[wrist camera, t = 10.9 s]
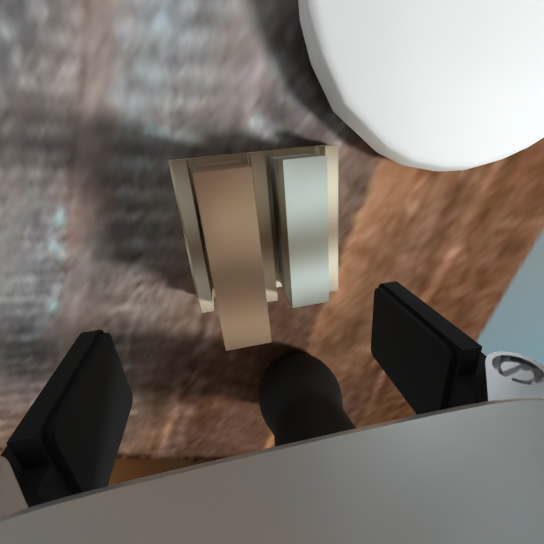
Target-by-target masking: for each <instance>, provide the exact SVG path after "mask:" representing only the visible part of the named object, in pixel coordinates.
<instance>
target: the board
mask: <svg viewBox="0 0 544 544" xmlns="http://www.w3.org/2000/svg"><path fill="white" fill-rule="evenodd" d="M192 174H193V179H194V184H195V190H196V195H197V200H198V206H199V211H200V216H201V222H202V227H203V232H204V237H205V243H206V248H207V253H208V259H209V264H210V269H211V275H212V280H213V285H214V290H215V296H216V301H217V306H218V312H219V317H220V322H221V328H222V333H223V338H224V343H225V349H226V351H228V350H234V349H239V348H244V347H249V346H255V345H260V344H265V343H270V342H271V334H270V325H269V316H268V307H267V299H266V290H265V281H264V272H263V263H262V254H261V246H260V237H259V228H258V219H257V210H256V202H255V193H254V184H253V175H252V167H251V166H249V165H248V164H246V163H244V162H242V161H240V160H238V159H237V160H228V161H219V162H210V163H200V164H198V166H197V167H196V169H195V170H194V172H193V173H192Z"/></svg>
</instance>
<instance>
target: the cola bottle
mask: <svg viewBox="0 0 544 544" xmlns="http://www.w3.org/2000/svg"><path fill="white" fill-rule="evenodd" d="M259 401H260V409H261V413H262V416H263V418H264V420H265V422H266V424H267V425H268V427H269V428H270V430H271V431H272V433H273V434H274V436H275V447H276V446H280V445H285V444H289V443H294V442H298V441H302V440H307V439H311V438H316V437H320V436H324V435H329V434H333V433H338V432H342V431H347V430H351V429H356V427H355V426H354V424H353V423H352V422H351V420H350V419H349V417H348V416H347V415H346V413H345V412H344V410H343V404H342V395H341V390H340V386H339V384H338V381H337V379H336V377H335V376H334V374H333V373H332V372H331V370H330V369H329V368H328V367H327V366H326V365H325V364H324V363H323V362H322V361H320V360H319V359H317V358H315V357H313V356H311V355H307V354H291V355H287V356H285V357H282V358H280V359H278V360H277V361H275V362H274V363H273V364H272V365H271V366H270V367H269V368H268V369H267V371H266V372H265V374H264V376H263V378H262V382H261V386H260V394H259Z"/></svg>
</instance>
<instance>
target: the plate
mask: <svg viewBox="0 0 544 544" xmlns="http://www.w3.org/2000/svg"><path fill="white" fill-rule="evenodd" d="M298 5H299V17H300V24H301V28H302V32H303V36H304V40H305V43H306V47H307V51H308V55H309V59H310V63H311V65H312V68H313V70H314V72H315V74H316V76H317V78H318V80H319V83H320V85H321V87H322V89H323V91H324V93H325V95H326V98H327V100H328V102H329V104H330V106H331V108H332V110H333V112H334V113H335V114H336V115H337V116H338V117H340V118H341V119H342V120H343V121H344V122H345V123H346V124H347V125H348V126H349V127H350V128H351V129H352V130H353V131H354V132H355V133H356V134H358V135H359V136H360V137H361V138H362V139H363V140H364V141H365V142H366V143H367V144H368V145H369V146H370V147H371V148H372V149H373V150H374V151H376V152H377V153H379V154H381V155H383V156H385V157H387V158H389V159H391V160H392V161H394V162H396V163H398V164H400V165H404V166H409V167H415V168H420V169H426V170H431V171H455V170H466V169H469V168H473V167H477V166H480V165H484V164H487V163H491V162H494V161H498V160H501V159H503V158H506V157H508V156H510V155H512V154H514V153H517V152H519V151H521V150H523V149H525V148H527V147H529V146H531V145H532V144H534V143H535V142H537V141H539V140H540V139H542V138H543V137H544V0H298Z"/></svg>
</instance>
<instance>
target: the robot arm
mask: <svg viewBox="0 0 544 544" xmlns="http://www.w3.org/2000/svg"><path fill="white" fill-rule="evenodd" d="M481 349H482V346H481V345H479V344H478V343H477V342H475V341H474V340H473V339H471V338H470V337H469V336H468V335H466V334H465V333H464V332H462V331H461V330H460V329H458V328H457V327H456V326H454V325H453V324H452V323H450V322H449V321H448V320H447V319H445V318H444V317H443V316H441V315H440V314H439V313H437V312H436V311H435V310H433V309H432V308H431V307H430V306H428V305H427V304H426V303H424V302H423V301H422V300H420V299H419V298H418V297H416V296H415V295H414V294H412V293H411V292H410V291H409V290H407V289H406V288H405V287H403V286H402V285H401V284H399V283H398V282H396V281H395V282H388V283H382V284H380V285H379V287H378V288H376V289H375V292H374V307H373V323H372V338H371V351H372V354H373V356H374V358H375V359H376V361H377V362H378V363H379V365H380V366H381V367H382V369H383V370H384V371H385V373H386V374H387V375H388V377H389V378H390V379H391V381H392V382H393V383H394V385H395V386H396V387H397V389H398V390H399V391H400V393H401V394H402V395H403V397H404V398H405V399H406V401H407V402H408V403H409V405H410V406H411V407H412V409H413V410H414V411H415V413H416V414H417V415H414V416H410V417H405V418H401V419H396V420H392V421H387V422H383V423H378V424H374V425H369V426H365V427H360V428H356V429H351V430H347V431H342V432H338V433H333V434H329V435H324V436H320V437H316V438H311V439H307V440H302V441H298V442H294V443H289V444H285V445H280V446H276V447H272V448H267V449H263V450H259V451H254V452H250V453H245V454H241V455H237V456H232V457H228V458H224V459H219V460H215V461H211V462H207V463H202V464H198V465H194V466H190V467H186V468H181V469H177V470H173V471H168V472H164V473H160V474H155V475H151V476H147V477H143V478H138V479H134V480H130V481H126V482H123V483H118V484H114V485H110V486H108V482H109V479H110V476H111V473H112V469H113V466H114V463H115V459H116V456H117V453H118V449H119V446H120V443H121V440H122V436H123V433H124V430H125V426H126V423H127V420H128V416H129V413H130V410H131V406H132V393H131V390H130V387H129V384H128V382H127V379H126V376H125V373H124V371H123V368H122V365H121V362H120V360H119V357H118V354H117V352H116V349H115V346H114V343H113V341H112V338H111V336H110V334H109V333H104V332H103V330H96V331H90V332H84V333H81V334H80V335H79V337H78V338H77V340H76V341H75V343H74V344H73V345H72V347H71V348H70V350H69V351H68V353H67V354H66V356H65V357H64V359H63V360H62V362H61V363H60V365H59V366H58V368H57V369H56V371H55V372H54V374H53V375H52V376H51V378H50V379H49V381H48V382H47V384H46V385H45V387H44V388H43V390H42V391H41V393H40V394H39V396H38V397H37V399H36V400H35V402H34V403H33V405H32V406H31V407H30V409H29V410H28V412H27V413H26V415H25V416H24V418H23V419H22V421H21V422H20V424H19V425H18V427H17V428H16V430H15V431H14V433H13V434H12V436H11V437H10V438H9V440H8V441H7V447H6V448H5V450H4V451H3V453H2V454H1V456H0V544H544V366H543V365H541V364H539V363H538V362H536V361H535V360H533V359H530V358H528V357H525V356H523V355H520V354H516V353H511V352H494V353H491V354H489V355H488V356H485V355H484V354H483V353H482V352H481Z"/></svg>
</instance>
